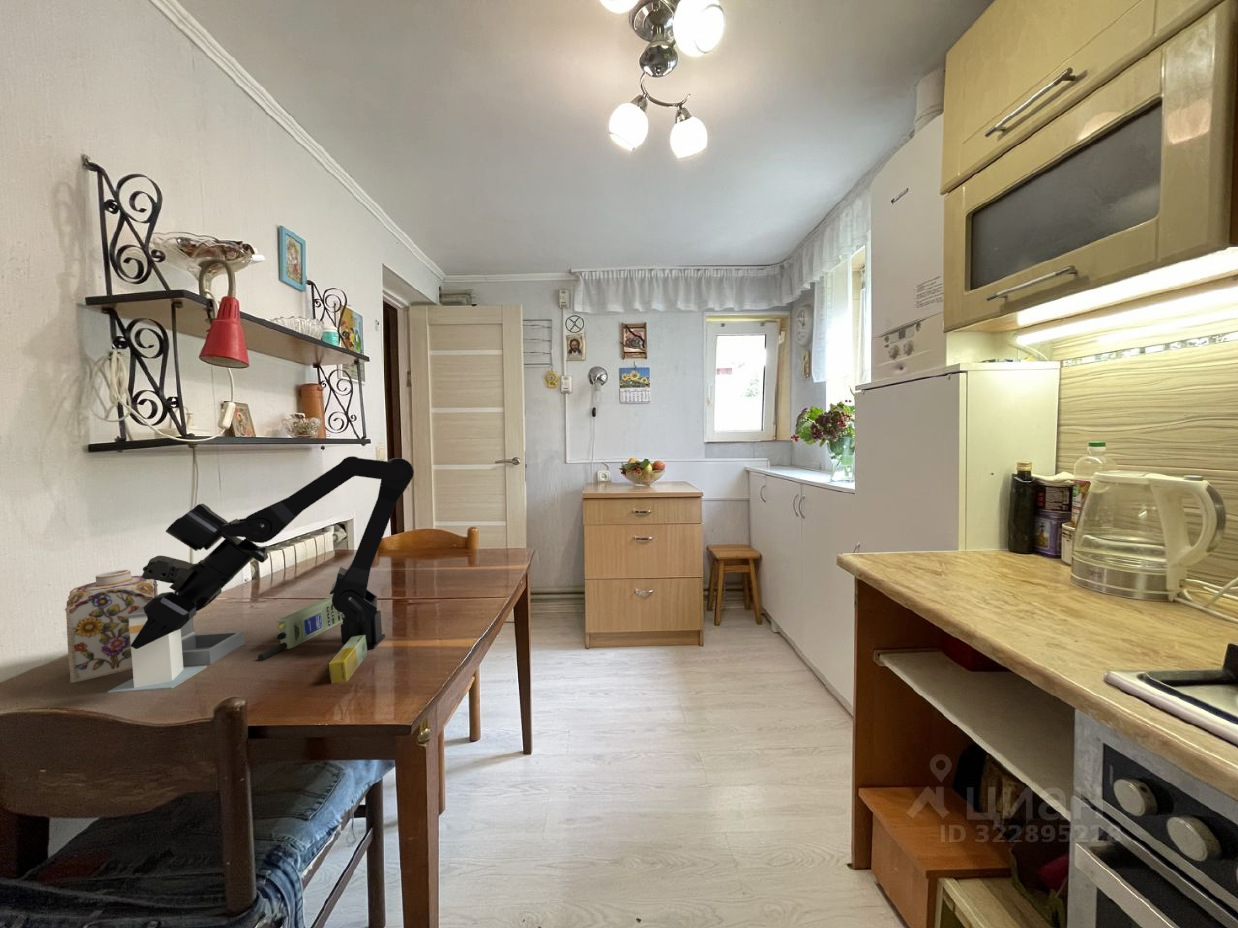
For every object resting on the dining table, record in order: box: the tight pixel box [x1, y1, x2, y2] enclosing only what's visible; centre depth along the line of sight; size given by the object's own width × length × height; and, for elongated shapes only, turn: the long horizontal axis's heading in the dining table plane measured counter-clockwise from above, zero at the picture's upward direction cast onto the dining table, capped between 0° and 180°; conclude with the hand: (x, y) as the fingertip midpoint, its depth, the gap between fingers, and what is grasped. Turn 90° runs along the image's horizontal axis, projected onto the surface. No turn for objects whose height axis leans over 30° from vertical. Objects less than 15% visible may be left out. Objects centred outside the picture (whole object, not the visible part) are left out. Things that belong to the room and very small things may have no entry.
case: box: [147, 590, 246, 667], centre depth 96 cm, size 10×10×13 cm
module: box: [127, 606, 184, 688], centre depth 86 cm, size 5×5×12 cm
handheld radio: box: [257, 595, 344, 662], centre depth 105 cm, size 7×3×25 cm
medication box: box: [328, 635, 368, 685], centre depth 89 cm, size 12×3×4 cm, turn 12°
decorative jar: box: [64, 569, 159, 684], centre depth 93 cm, size 12×12×18 cm
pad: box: [106, 665, 208, 694], centre depth 86 cm, size 10×8×1 cm
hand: (146, 637), depth 85 cm, fingers open, 9 cm apart
